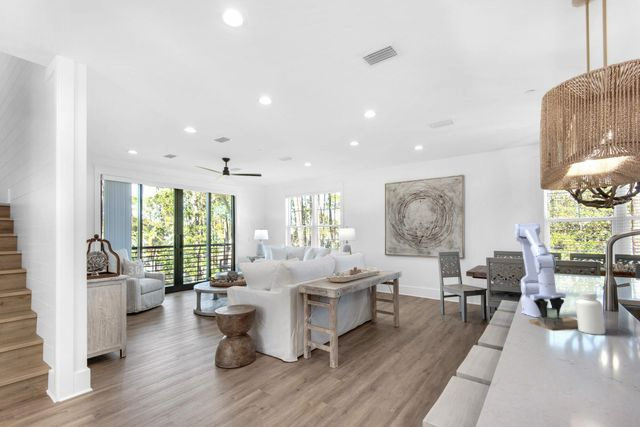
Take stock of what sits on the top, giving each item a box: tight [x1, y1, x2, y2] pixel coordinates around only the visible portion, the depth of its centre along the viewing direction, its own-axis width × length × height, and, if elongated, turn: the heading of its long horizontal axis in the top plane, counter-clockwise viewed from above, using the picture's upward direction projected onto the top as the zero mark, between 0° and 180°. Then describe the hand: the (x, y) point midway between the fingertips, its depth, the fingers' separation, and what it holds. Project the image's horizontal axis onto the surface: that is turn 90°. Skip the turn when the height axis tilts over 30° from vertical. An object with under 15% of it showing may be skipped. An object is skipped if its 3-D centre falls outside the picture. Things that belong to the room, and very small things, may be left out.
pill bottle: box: [575, 291, 606, 335], centre depth 122 cm, size 8×8×15 cm
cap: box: [543, 306, 558, 320], centre depth 130 cm, size 5×5×4 cm
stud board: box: [528, 315, 578, 331], centre depth 132 cm, size 12×18×4 cm, turn 96°
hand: (550, 316), depth 130 cm, fingers closed on cap, 5 cm apart
